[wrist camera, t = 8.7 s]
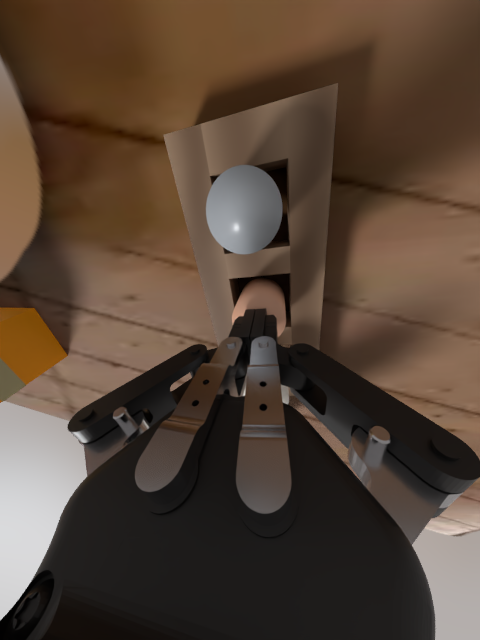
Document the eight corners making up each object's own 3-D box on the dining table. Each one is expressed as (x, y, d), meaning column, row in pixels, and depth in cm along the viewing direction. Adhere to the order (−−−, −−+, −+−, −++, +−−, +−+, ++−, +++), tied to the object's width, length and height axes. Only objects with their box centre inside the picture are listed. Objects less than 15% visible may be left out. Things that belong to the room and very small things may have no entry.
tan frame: (325, 109, 12) (338, 82, 9) (311, 377, 24) (315, 397, 21) (183, 148, 14) (163, 135, 12) (235, 375, 26) (230, 393, 23)
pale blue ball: (280, 170, 12) (280, 155, 8) (282, 239, 14) (283, 249, 10) (219, 183, 13) (197, 174, 9) (229, 246, 15) (214, 258, 11)
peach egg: (283, 275, 16) (285, 294, 12) (285, 317, 18) (286, 342, 14) (237, 280, 17) (227, 298, 13) (244, 318, 19) (236, 343, 15)
